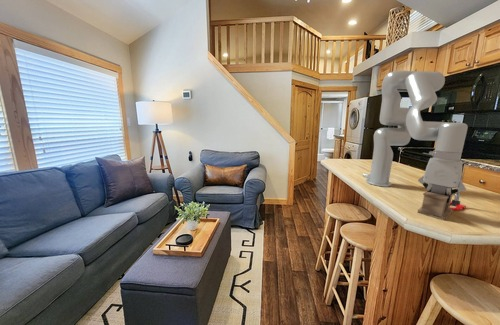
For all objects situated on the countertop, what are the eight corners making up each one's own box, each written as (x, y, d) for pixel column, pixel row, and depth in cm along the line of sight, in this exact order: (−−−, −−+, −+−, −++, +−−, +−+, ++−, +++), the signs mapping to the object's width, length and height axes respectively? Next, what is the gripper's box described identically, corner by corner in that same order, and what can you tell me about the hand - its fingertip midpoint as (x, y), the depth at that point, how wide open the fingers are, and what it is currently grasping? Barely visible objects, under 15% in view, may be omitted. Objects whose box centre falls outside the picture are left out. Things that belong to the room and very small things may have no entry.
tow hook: (452, 212, 85) (468, 209, 87) (458, 182, 82) (474, 179, 84) (430, 204, 93) (445, 202, 95) (434, 176, 90) (450, 174, 92)
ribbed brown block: (417, 212, 82) (421, 192, 81) (426, 205, 91) (430, 186, 89) (444, 220, 76) (449, 199, 75) (452, 211, 84) (456, 192, 83)
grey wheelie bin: (426, 206, 83) (431, 182, 81) (429, 203, 86) (434, 180, 84) (441, 210, 80) (447, 185, 78) (444, 207, 83) (450, 183, 81)
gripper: (416, 153, 83) (408, 197, 87) (477, 160, 70) (464, 212, 74) (422, 152, 88) (413, 194, 91) (480, 158, 75) (468, 207, 79)
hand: (436, 201), depth 83 cm, fingers closed on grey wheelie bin, 4 cm apart
